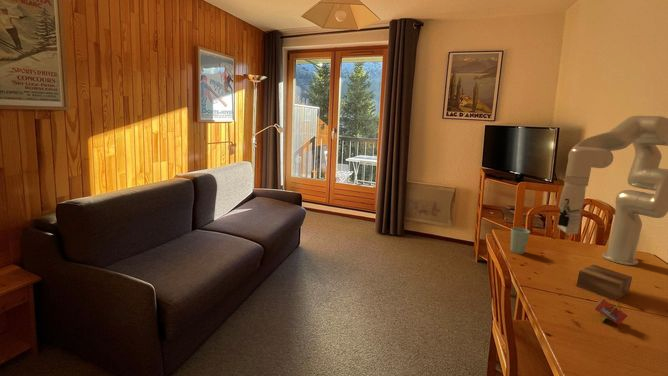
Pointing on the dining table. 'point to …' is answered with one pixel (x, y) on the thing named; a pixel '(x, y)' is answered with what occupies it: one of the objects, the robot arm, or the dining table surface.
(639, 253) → the dining table surface
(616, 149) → the robot arm
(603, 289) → the walnut block
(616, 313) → the geometric puzzle
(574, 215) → the medicine box
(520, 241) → the cup
